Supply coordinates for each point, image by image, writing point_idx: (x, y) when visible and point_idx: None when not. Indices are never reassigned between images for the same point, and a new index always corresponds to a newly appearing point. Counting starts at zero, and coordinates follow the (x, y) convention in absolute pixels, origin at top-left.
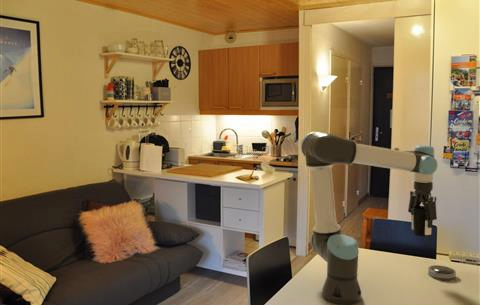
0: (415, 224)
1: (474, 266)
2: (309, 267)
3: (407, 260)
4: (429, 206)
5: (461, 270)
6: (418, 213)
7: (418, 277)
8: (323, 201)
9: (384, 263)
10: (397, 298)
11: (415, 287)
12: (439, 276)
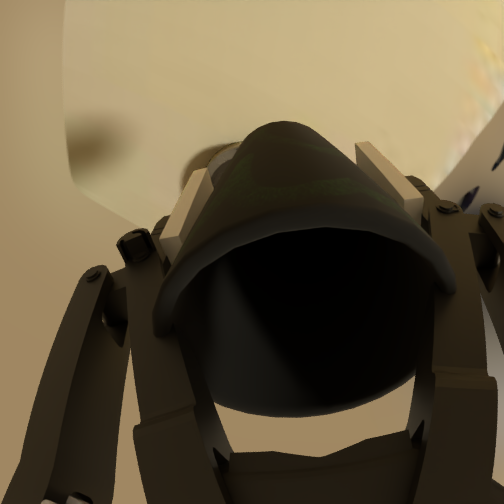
0: (277, 136)
1: None
2: None
3: (407, 146)
4: (59, 404)
5: None
6: (216, 209)
7: (239, 91)
8: None
9: (398, 40)
10: None
11: (150, 42)
12: (210, 161)
